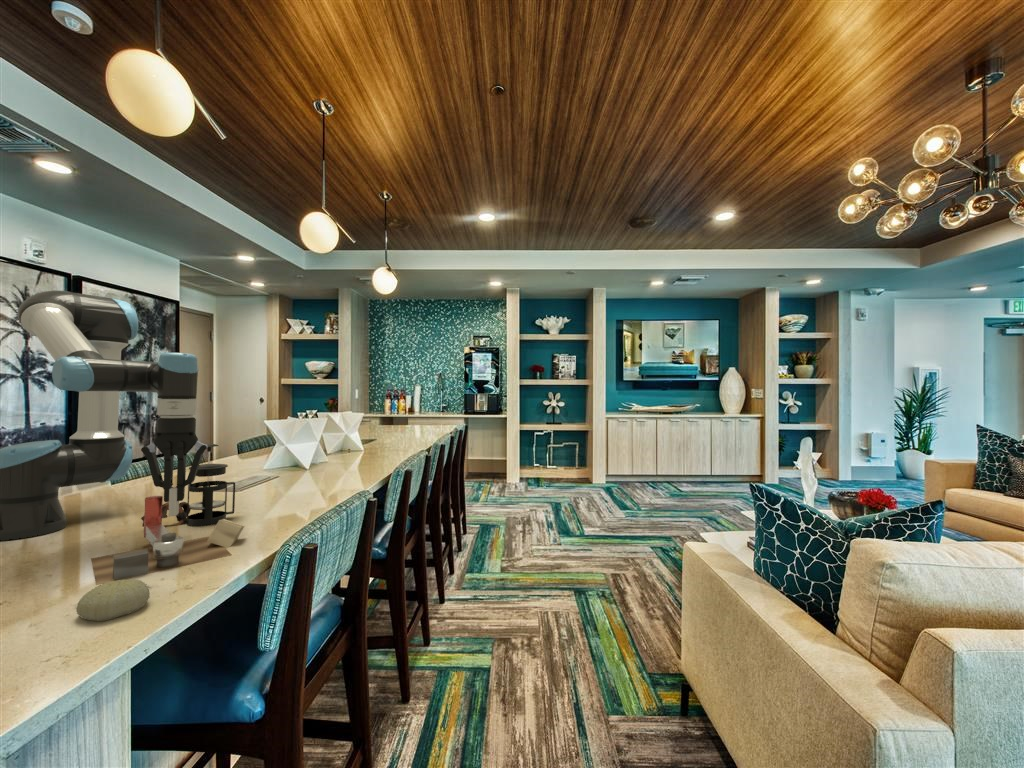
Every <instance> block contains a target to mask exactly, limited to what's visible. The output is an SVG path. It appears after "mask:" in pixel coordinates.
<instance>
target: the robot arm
mask: <svg viewBox="0 0 1024 768" xmlns="http://www.w3.org/2000/svg"><path fill="white" fill-rule="evenodd" d="M17 316H18V321H19V323H20V325H21V326H22V327H23V329H24V330H25V331H27V332H28V333H29V334H31V335H32V336H33V335H34V336H36V337H37V338H38V340H39V341H40V343H41V344H42V345H43V347H44V348H45V350H46V351H47V352H48V353H49V354H50V356H51V357H52V358H53V360H54V363H53V365H52V370H51V378H52V383H53V385H54V386H55V388H57V389H58V390H61V391H70V392H71V391H73V392H78V409H77V410H78V411H77V428H76V432H75V433H73V434H72V435H71V436H69V439H68V440H69V441H68V444H62V442H61V441H60V440H59V439H48V440H37V441H36V440H35V441H30V442H23V443H17V444H16V443H15V444H12V445H7V446H3V447H1V448H0V540H3V541H10V540H9V539H13V540H20V539H19V538H21V539H27V537H28V538H31V537H32V536H33V537H38V536H43V535H47V534H51V533H54V532H57V531H60V530H63V529H65V527H67V516H66V513H65V511H64V508H63V506H62V505H61V503H60V500H59V490H60V488H65V487H73V486H82V485H88V484H95V483H100V484H101V483H102V484H103V483H106V482H111V481H116V480H120V479H121V478H123V477H124V476H126V475H127V473H128V472H129V469H130V467H132V466H131V465H132V463H133V462H132V461H133V457H134V449H133V445H132V443H131V442H130V441H129V440H126V439H125V435H124V434H123V433H122V432H121V431H119V413H120V412H119V411H120V410H119V409H120V392H126V393H127V392H130V393H131V392H133V393H135V392H136V393H138V392H139V393H141V392H142V393H157V405H156V407H157V408H156V409H157V410H156V415H157V416H159V417H158V418H157V419H156V432H155V433H156V435H155V437H154V438H153V442H152V443H150V444H148V445H146V446H143V447H141V449H140V451H141V452H142V453H143V455H144V456H145V457H146V460H147V465H148V467H149V471H150V475H151V478H152V483H153V485H154V486H155V487H156V488H159V487H160V488H162V489H163V502H164V503H167V502H169V510H168V517H176V515H177V514H178V513H179V503H180V502H181V501H182V502H183V500H184V499H185V492H186V491H185V490H186V486H187V487H188V485H190V484H193V483H195V480H196V477H197V476H196V474H197V471H198V467H199V465H201V461H202V458H203V455H204V453H205V452H206V451H207V448H208V445H207V444H208V443H207V444H206V443H203V442H200V441H199V438H198V437H197V433H196V430H197V428H196V426H197V419H196V417H194V416H196V415H197V403H198V402H197V400H198V399H197V396H198V395H197V393H198V391H197V390H198V377H199V376H198V375H199V368H198V367H199V366H198V357H197V356H196V355H195V354H193V353H184V352H161V353H160V354H159V357H158V361H143V360H141V361H140V360H126V359H125V360H123V359H122V350H123V349H125V348H126V347H128V346H129V341H132V340H134V339H135V338H136V337H137V335H138V332H139V319H138V318H139V317H138V315H137V312H136V309H135V308H134V307H133V305H132V304H131V303H129V302H127V301H125V300H121V299H116V298H113V297H107V296H106V297H104V296H99V295H91V294H84V293H78V292H72V291H66V290H47V291H46V290H45V291H42V292H38V293H34V294H32V295H31V296H29V297H28V298H26V299H25V300H23V302H22V303H21V304H20V305H19V307H18V310H17ZM193 448H194V451H196V452H195V454H194V457H193V460H192V463H191V466H190V467H191V469H189V471H188V475H186V472H187V456H188V453H189V452H190V451H191V450H192V449H193ZM157 449H158V450H159V451H160V452H161V454H163V461H164V463H163V464H164V465H163V467H164V468H163V469H164V470H163V475H162V471H161V468H160V464H159V461H158V457H157V455H156V452H157ZM175 456H176V460H177V469H176V470H177V471H176V472H177V474H176V477H177V478H176V486H174V482H173V481H174V479H173V478H174V458H175ZM186 476H187V478H186ZM37 535H38V536H37ZM33 537H32V538H33Z"/></svg>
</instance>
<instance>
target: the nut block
mask: <svg viewBox="0 0 1024 768" xmlns="http://www.w3.org/2000/svg"><path fill="white" fill-rule="evenodd" d="M244 528H245V525H243V524H240V523H237V522H234V521H232V520H230V519H227V518H226V519H222V520H219V521H218V523H217V524H215V527H214V528H213V530H212V532H211V534H210V535H209V536H210V537H209V536H208V537H209V539H208V540H207V542H210V543H213V544H216V545H220V546H223V547H225V548H228V547H231V546H233V544H235V543H236V541H237V540H238V538H240V535H241V534H242V532H243V530H244Z"/></svg>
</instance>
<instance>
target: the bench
mask: <svg viewBox="0 0 1024 768" xmlns="http://www.w3.org/2000/svg"><path fill="white" fill-rule="evenodd" d="M176 537H177V533H176V532H170V533H167V534H163V535H162V536H161V541H172V540H175V539H176ZM209 537H210V535H209V536H203V537H199V538H193V539H188V540H183V553H182V554H181V555H179V556H176V557H173V558H168V559H153V546H151V547H145V548H140V549H139V548H138V549H134V550H129V551H128V550H127V551H123V552H118V553H112V554H109V555H108V554H107V555H102V556H97V557H92V558H90V560H91V566H92V570H93V577H94V582H95V585H96V586H99V585H102V584H103V583H107V582H110V581H117V580H124V579H125V580H126V579H132V578H134V577H135V578H136V577H140V576H143V575H144V576H145V575H149V574H152V573H153V574H154V573H157V572H162V571H167V570H172V569H175V568H176V569H177V568H180V567H185V566H188V565H189V566H190V565H194V564H198V563H203V562H208V561H212V560H213V561H214V560H216V559H220V558H221V559H222V558H227V557H231V556H233V554H232V553H231V552H230V551H229V550H228V549H227V547H223V546H220V545H216V544H213V543H210V542H207V540H208V539H209Z"/></svg>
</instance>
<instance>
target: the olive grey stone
mask: <svg viewBox="0 0 1024 768" xmlns="http://www.w3.org/2000/svg"><path fill="white" fill-rule="evenodd" d="M150 592H151V591H150V588H149V586H148V585H147V583H145V582H144V581H142V580H140V579H136V578H126V579H122V580H117V581H110V582H107V583H103V584H99V585H97V586H95V587H94V588H92V589H91V590H88V591H87V592H86V593H85V594H84V595H83V596H82V597H81V598H80V599H79V601H78V603H77V605H76V614H77V615H78V616H79V617H80V618H82V619H83V620H84V619H85V620H89V621H92V622H93V621H96V622H103V621H108V620H112V619H117V618H118V617H121V616H125V615H128V614H131V613H134V612H136V611H138V610H140V609H142V608H143V607H144V605H145V604H147V601H148V600H149V598H150V594H151V593H150Z"/></svg>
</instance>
